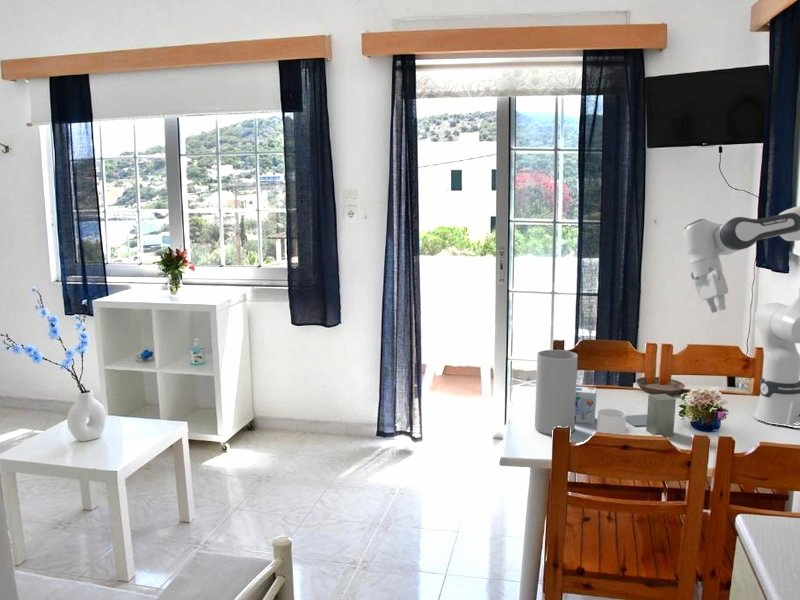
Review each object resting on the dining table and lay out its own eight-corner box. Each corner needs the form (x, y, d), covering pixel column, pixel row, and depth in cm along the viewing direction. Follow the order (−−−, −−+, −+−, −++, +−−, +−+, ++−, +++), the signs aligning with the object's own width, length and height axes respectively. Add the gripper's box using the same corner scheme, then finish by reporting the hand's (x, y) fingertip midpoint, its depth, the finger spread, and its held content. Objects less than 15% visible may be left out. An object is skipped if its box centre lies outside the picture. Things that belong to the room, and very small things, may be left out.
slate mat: (646, 415, 254) (646, 414, 254) (662, 425, 244) (662, 423, 244) (619, 417, 252) (619, 416, 252) (634, 426, 242) (634, 425, 242)
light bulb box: (561, 421, 247) (562, 390, 246) (563, 415, 254) (564, 384, 252) (594, 424, 244) (596, 393, 243) (595, 418, 251) (596, 387, 249)
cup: (600, 449, 222) (601, 417, 220) (590, 435, 234) (592, 404, 232) (627, 449, 222) (629, 417, 220) (616, 435, 234) (618, 405, 232)
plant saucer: (692, 390, 284) (693, 383, 284) (670, 400, 272) (671, 392, 272) (650, 381, 297) (650, 374, 297) (627, 389, 285) (627, 382, 285)
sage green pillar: (663, 429, 240) (665, 393, 238) (673, 435, 234) (675, 399, 232) (646, 430, 239) (648, 394, 237) (655, 436, 233) (658, 400, 231)
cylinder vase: (527, 425, 243) (530, 351, 239) (561, 421, 247) (564, 348, 243) (546, 438, 231) (549, 360, 227) (581, 434, 235) (585, 357, 231)
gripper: (726, 262, 227) (738, 306, 225) (708, 271, 247) (719, 311, 246) (705, 267, 228) (717, 311, 226) (689, 275, 248) (700, 315, 246)
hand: (718, 311), depth 236 cm, fingers open, 8 cm apart
